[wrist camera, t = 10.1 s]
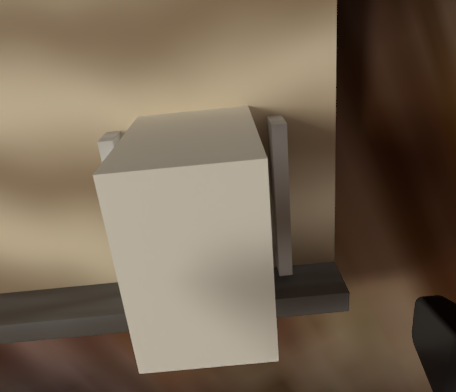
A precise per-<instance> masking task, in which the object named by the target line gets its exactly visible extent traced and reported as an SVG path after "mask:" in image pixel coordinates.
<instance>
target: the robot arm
mask: <svg viewBox="0 0 456 392" xmlns="http://www.w3.org/2000/svg"><path fill="white" fill-rule="evenodd" d="M412 338H413V343H414V346H415V348H416V351H417V353H418V356H419V358H420V361H421V363H422V366H423V368H424V371H425V373H426V376H427V378H428V381H429V383H430V386H431V388H432V391H433V392H456V303H454V302H452V301H450V300H448V299H447V298H445V297H443V296H439V295H435V296H424V297H419V298H418V299H417V300H416V302H415V308H414V317H413V326H412Z"/></svg>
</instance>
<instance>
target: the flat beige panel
mask: <svg viewBox="0 0 456 392" xmlns="http://www.w3.org/2000/svg"><path fill="white" fill-rule="evenodd" d="M336 44H337V0H0V344H4V343H14V342H25V341H36V340H46V339H57V338H67V337H78V336H89V335H99V334H110V333H120V332H129V328H128V324H127V319H126V315H125V311H124V306H123V302H122V298H121V294H120V289H119V285H118V281H117V277H116V272H115V268H114V264H113V260H112V255H111V251H110V247H109V243H108V238H107V234H106V230H105V225H104V221H103V217H102V213H101V208H100V204H99V200H98V196H97V191H96V187H95V183H94V179H93V174H94V173H95V171H96V170H97V169H98V168H99V166H100V165H101V164H102V162H103V161H104V160H105V158H106V157H107V156H108V155H109V153H110V152H111V151H112V149H113V148H114V147H115V145H116V144H117V143H118V142H119V140H120V139H121V138H122V136H123V135H124V134H125V132H126V131H127V130H128V129H129V127H130V126H131V125H132V123H133V122H134V121H135V119H136V118H137V117H138V116H146V115H156V114H167V113H177V112H187V111H198V110H208V109H219V108H229V107H239V106H248V107H249V110H250V112H251V115H252V118H253V121H254V123H255V126H256V129H257V131H258V134H259V137H260V139H261V142H262V145H263V147H264V150H265V153H266V156H267V158H268V175H269V194H270V212H271V230H272V248H273V266H274V285H275V303H276V318H280V317H290V316H301V315H312V314H322V313H333V312H343V311H349V291H348V288H347V286H346V284H345V282H344V280H343V278H342V276H341V274H340V272H339V270H338V268H337V266H336V264H335V262H334V248H335V146H336Z"/></svg>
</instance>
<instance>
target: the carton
mask: <svg viewBox="0 0 456 392" xmlns="http://www.w3.org/2000/svg"><path fill="white" fill-rule="evenodd" d="M93 179H94V183H95V187H96V191H97V196H98V200H99V204H100V208H101V213H102V217H103V221H104V225H105V230H106V234H107V238H108V243H109V247H110V251H111V255H112V260H113V264H114V268H115V272H116V277H117V281H118V285H119V289H120V294H121V298H122V302H123V306H124V311H125V315H126V319H127V324H128V328H129V332H130V336H131V341H132V345H133V349H134V353H135V358H136V362H137V366H138V370H139V374H142V373H153V372H164V371H175V370H186V369H197V368H208V367H219V366H230V365H242V364H253V363H264V362H275V361H279V357H278V339H277V321H276V303H275V285H274V266H273V248H272V230H271V212H270V194H269V175H268V158H267V156H266V153H265V150H264V147H263V145H262V142H261V139H260V137H259V134H258V131H257V129H256V126H255V123H254V121H253V118H252V115H251V112H250V110H249V107H248V106H239V107H229V108H219V109H208V110H198V111H187V112H177V113H167V114H156V115H146V116H138V117H137V118H136V119H135V121H134V122H133V123H132V125H131V126H130V127H129V129H128V130H127V131H126V132H125V134H124V135H123V136H122V138H121V139H120V140H119V142H118V143H117V144H116V145H115V147H114V148H113V149H112V151H111V152H110V153H109V155H108V156H107V157H106V158H105V160H104V161H103V162H102V164H101V165H100V166H99V168H98V169H97V170H96V171H95V173H94V174H93Z"/></svg>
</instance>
